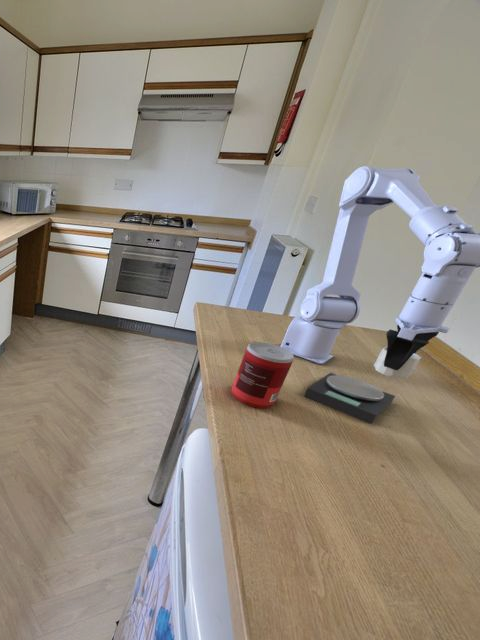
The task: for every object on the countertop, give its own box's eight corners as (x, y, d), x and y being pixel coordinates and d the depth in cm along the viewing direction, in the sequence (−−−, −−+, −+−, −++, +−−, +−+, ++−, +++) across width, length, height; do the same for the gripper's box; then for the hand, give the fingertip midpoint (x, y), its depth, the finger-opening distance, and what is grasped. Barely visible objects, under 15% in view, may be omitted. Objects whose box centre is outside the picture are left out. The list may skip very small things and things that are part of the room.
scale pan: (319, 384, 85) (320, 382, 85) (334, 373, 90) (336, 371, 90) (375, 405, 79) (376, 403, 78) (388, 393, 83) (390, 390, 83)
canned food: (266, 392, 86) (286, 345, 82) (279, 412, 79) (301, 363, 75) (226, 384, 88) (243, 338, 84) (234, 404, 82) (254, 355, 77)
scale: (303, 396, 86) (308, 385, 85) (326, 380, 92) (331, 370, 91) (371, 423, 77) (377, 412, 76) (390, 404, 84) (396, 393, 83)
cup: (369, 370, 82) (379, 350, 80) (376, 363, 85) (387, 344, 83) (405, 382, 78) (417, 361, 76) (412, 375, 81) (424, 355, 79)
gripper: (455, 313, 68) (413, 383, 74) (470, 300, 76) (431, 363, 82) (399, 300, 74) (364, 366, 79) (418, 289, 81) (385, 350, 87)
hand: (394, 364), depth 81 cm, fingers closed on cup, 5 cm apart
